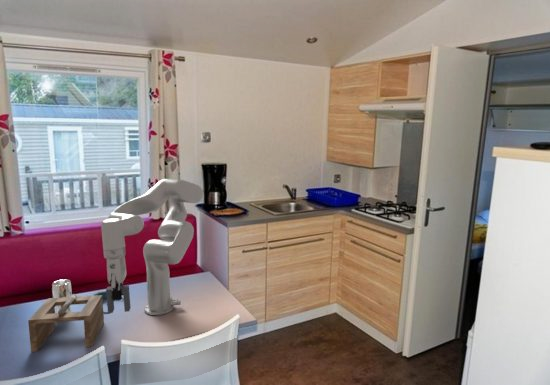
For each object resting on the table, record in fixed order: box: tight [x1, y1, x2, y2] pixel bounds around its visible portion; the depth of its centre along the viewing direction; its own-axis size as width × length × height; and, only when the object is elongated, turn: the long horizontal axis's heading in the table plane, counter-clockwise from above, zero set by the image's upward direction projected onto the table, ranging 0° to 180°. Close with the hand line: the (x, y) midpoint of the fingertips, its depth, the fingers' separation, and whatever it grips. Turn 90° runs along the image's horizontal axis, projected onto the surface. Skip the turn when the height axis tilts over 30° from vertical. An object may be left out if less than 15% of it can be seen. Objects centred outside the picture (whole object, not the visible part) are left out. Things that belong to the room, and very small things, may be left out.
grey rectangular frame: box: [105, 284, 131, 314], centre depth 145 cm, size 8×3×9 cm, turn 101°
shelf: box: [27, 293, 105, 353], centre depth 144 cm, size 20×18×14 cm
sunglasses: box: [91, 290, 124, 314], centre depth 172 cm, size 14×15×5 cm
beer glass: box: [51, 279, 73, 313], centre depth 160 cm, size 7×7×15 cm
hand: (118, 297), depth 145 cm, fingers closed on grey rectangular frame, 3 cm apart
